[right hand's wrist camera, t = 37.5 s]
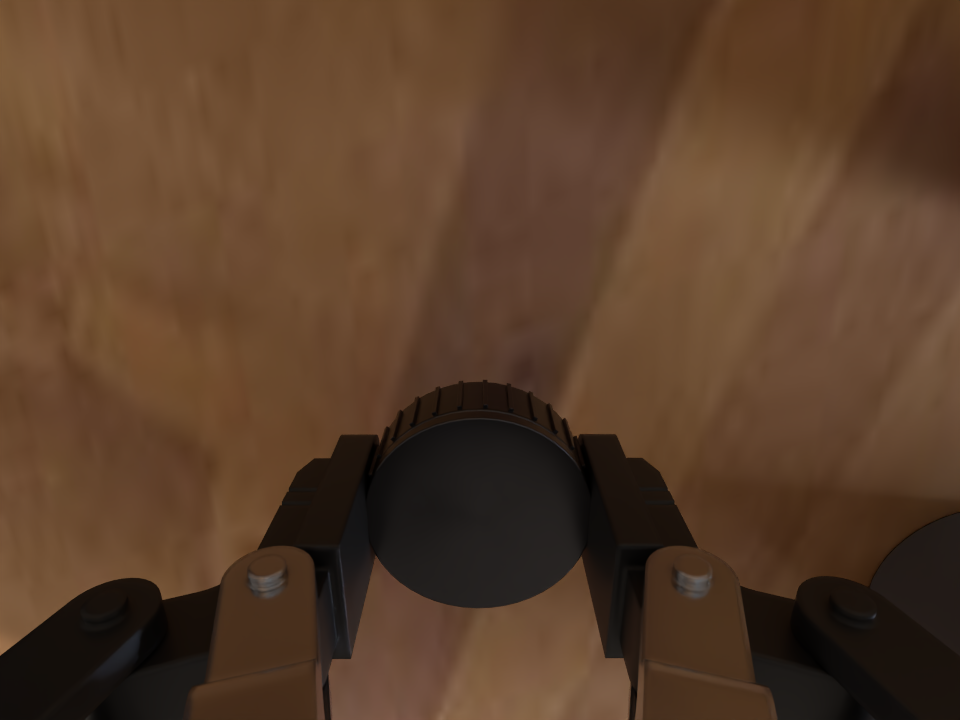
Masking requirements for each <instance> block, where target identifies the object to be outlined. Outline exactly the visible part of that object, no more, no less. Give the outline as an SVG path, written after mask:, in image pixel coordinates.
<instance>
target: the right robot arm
mask: <svg viewBox="0 0 960 720" xmlns="http://www.w3.org/2000/svg"><path fill="white" fill-rule="evenodd" d="M578 442H579V445H580V448H581V451H582V455H583V458H584V461H585V464H586V468H585V469H584V471H585V474H586V478H587V481H588V484H589V488H590V491H591V504H590V517H589V529H588V540H587V545H586V547H585V549H584V551H583V553H582V559H583V563H584V568H585V572H586V576H587V581H588V585H589V589H590V594H591V598H592V602H593V607H594V611H595V615H596V620H597V624H598V628H599V633H600V637H601V641H602V645H603V650H604V654H605V658H624V660H625V664H626V668H627V672H628V675H629V679H630V681H631V683H630V690H629V704H628V720H960V656H959V655H958V654H957V653H955V652H954V651H953V650H952V649H950V648H949V647H948V646H946V645H945V644H944V643H943V642H941V641H940V640H939V639H937V638H936V637H935V636H934V635H932V634H931V633H930V632H929V631H927V630H926V629H925V628H923V627H922V626H921V625H920V624H918V623H917V622H916V621H914V620H913V619H912V618H911V617H909V616H908V615H907V614H905V613H904V612H903V611H902V610H900V609H899V608H898V607H896V606H895V605H894V604H893V603H891V602H890V601H889V600H888V599H886V598H885V597H883V596H882V595H880V594H879V593H877V592H875V591H874V590H872V589H870V588H868V587H866V586H864V585H862V584H859V583H856V582H854V581H851V580H847V579H843V578H838V577H830V576H820V577H814V578H810V579H808V580H806V581H804V582H803V583H802V584H801V585H800V586H799V588H798V591H797V595H796V599H795V600H793V599H789V598H784V597H780V596H776V595H771V594H767V593H763V592H758V591H755V590H751V589H748V588H745V587H742V586H740V583H739V580H738V577H737V576H736V574H735V572H734V571H733V570H732V568H731V567H730V566H729V565H728V564H727V563H725V562H724V561H723V560H721V559H720V558H718V557H717V556H715V555H713V554H711V553H709V552H706V551H704V550H701V549H698V547H697V545H696V543H695V541H694V539H693V537H692V535H691V533H690V531H689V529H688V527H687V525H686V523H685V521H684V519H683V517H682V515H681V513H680V511H679V509H678V508H677V506H676V505H675V504H674V500H673V498H672V496H671V494H670V492H669V491H668V488H667V486H666V484H665V482H664V480H663V478H662V476H661V474H660V472H659V471H658V470H656V469H655V468H654V467H653V466H652V465H650V464H649V463H648V462H647V461H645V460H644V459H643V458H626V456H625V454H624V452H623V449H622V447H621V445H620V442H619V440H618V438H617V436H616V435H615V434H580V435H579V438H578ZM377 445H380V443H379V438H378V435H341V436H340V438H339V440H338V442H337V445H336V447H335V449H334V452H333V454H332V456H331V458H315V459H313V460H312V461H311V462H310V463H308V464H307V465H306V466H305V467H303V468H302V469H301V470H300V471H298V472H297V474H296V476H295V478H294V480H293V482H292V483H291V485H290V487H289V492H287V493H286V495H285V497H284V499H283V501H282V505H280V507H279V509H278V511H277V513H276V515H275V516H274V518H273V520H272V522H271V524H270V526H269V528H268V530H267V532H266V534H265V536H264V538H263V540H262V542H261V544H260V546H259V548H258V549H257V550H256V551H254V552H251V553H249V554H247V555H245V556H243V557H242V558H240V559H239V560H237V561H236V562H235V563H233V564H232V565H231V566H230V567H229V568H228V570H227V571H226V572H225V574H224V576H223V577H222V580H221V583H220V585H218V586H215V587H213V588H210V589H207V590H204V591H200V592H196V593H192V594H188V595H183V596H179V597H175V598H170V599H166V600H162V597H161V593H160V590H159V588H158V587H157V586H156V585H155V584H154V583H153V582H151V581H148V580H146V579H140V578H125V579H118V580H113V581H110V582H106V583H103V584H101V585H98V586H95V587H93V588H91V589H89V590H87V591H85V592H84V593H82V594H80V595H78V596H77V597H76V598H74V599H73V600H71V601H70V602H69V603H67V604H66V605H65V606H64V607H62V608H61V609H60V610H58V611H57V612H56V613H55V614H53V615H52V616H51V617H49V618H48V619H47V620H46V621H44V622H43V623H42V624H40V625H39V626H38V627H37V628H35V629H34V630H33V631H31V632H30V633H29V634H28V635H26V636H25V637H24V638H22V639H21V640H20V641H19V642H17V643H16V644H15V645H14V646H12V647H11V648H10V649H8V650H7V651H6V652H5V653H3V654H2V655H1V656H0V720H332V704H331V690H330V683H329V675H328V672H329V668H330V665H331V661H332V659H351V656H352V652H353V647H354V643H355V639H356V635H357V631H358V626H359V622H360V618H361V614H362V610H363V605H364V601H365V597H366V593H367V589H368V584H369V580H370V576H371V572H372V568H373V563H374V559H375V555H376V554H375V553H374V550H373V548H372V546H371V544H370V541H369V531H368V519H367V507H366V492H367V489H368V485H369V482H370V478H369V471H370V468H371V465H372V462H373V458H374V455H375V452H376V449H377Z"/></svg>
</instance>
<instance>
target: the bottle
mask: <svg viewBox="0 0 960 720" xmlns="http://www.w3.org/2000/svg"><path fill="white" fill-rule="evenodd" d="M870 589H872V590H874V591H875V592H877V593H879V594H880V595H882V596H883V597H885V598H886V599H888V600H889V601H890V602H891V603H893V604H894V605H895V606H896V607H898V608H899V609H900V610H902V611H903V612H904V613H905V614H907V615H908V616H909V617H911V618H912V619H913V620H914V621H916V622H917V623H918V624H920V625H921V626H922V627H923V628H925V629H926V630H927V631H929V632H930V633H931V634H932V635H934V636H935V637H936V638H937V639H939V640H940V641H941V642H943V643H944V644H945V645H946V646H948V647H949V648H950V649H952V650H953V651H954V652H955V653H957V654H958V655H959V656H960V513H956V514H953V515H950V516H947V517H945V518H942V519H939V520H937V521H935V522H933V523H931V524H929V525H927V526H925V527H923V528H922V529H920V530H918V531H917V532H915V533H914V534H912V535H911V536H909V537H908V538H907V539H905V540H904V541H903V542H902V543H901V544H899V545H898V546H897V547H896V548H895V549H894V550H893V551H892V552H891V553H890V554H889V555H888V556H887V558H886V559H885V560H884V561H883V563H882V564H881V566H880V567H879V568H878V570H877V572H876V574H875V576H874V577H873V580H872V582H871V585H870Z"/></svg>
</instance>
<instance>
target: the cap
mask: <svg viewBox="0 0 960 720" xmlns="http://www.w3.org/2000/svg"><path fill="white" fill-rule="evenodd" d="M585 468H586V464H585V461H584V458H583V455H582V451H581V448H580V445H579V442H578V438H577V436H574V437H573V435H572V433H571V431H570V429H569V426H568V422H567V420H566V419H565V418H564V419H563V420H562V418H561V417H560V416H559V415H558V414H557V413H556V412H555V411H554V410H553V407H552V405H551V404H550V403H548V404H546V403H544V402H543V401H541V400H540V399H538V398H537V397H535V396H534V395H533V392H531V391H529V392H528V393H527V392H525V391H523V390H520V389H517V388H514V387H511V384H508V383H507V385H502V384H497V383H488V382H487V380H483V382H468V383H463V381H459V384H455V385H451V386H447V387H444V388H440V386H439V387H436V389H435V391H433V392H431V393H428V394H426V395H425V396H423V397H421V398H419V396H418V397H416V398H415V401H414V402H413V403H412V404H411V405H409V406H408V407H407V408H406V409H405V410H404V411H401V410H400V411H399V412H398V414H397V417H396V419H395V420H394V422H393V423H392V424H391V426H390V427H386V428H385V430H384V434H383V437H382V440H381V443H380V445H377V449H376V452H375V455H374V458H373V462H372V465H371V468H370V471H369V478H370V482H369V485H368V489H367V492H366V507H367V519H368V531H369V541H370V544H371V546H372V548H373V550H374V553H375V554H376V556H377V557H378V559H379V560H380V562H381V563H382V565H383V566H384V567H385V568H386V569H387V570H388V572H389V573H390V574H391V575H392V576H394V577H395V578H396V579H397V580H398V581H399V582H400V583H402V584H403V585H405V586H406V587H408V588H409V589H411V590H412V591H414V592H416V593H418V594H420V595H422V596H424V597H426V598H429V599H431V600H434V601H437V602H440V603H444V604H447V605H452V606H458V607H466V608H492V607H499V606H506V605H510V604H514V603H518V602H521V601H523V600H526V599H529V598H531V597H534V596H536V595H538V594H540V593H542V592H544V591H545V590H547V589H548V588H550V587H551V586H553V585H554V584H556V583H557V582H558V581H559V580H561V579H562V578H563V577H564V576H565V575H566V574H567V573H568V572H569V571H570V570H571V569H572V568H573V566H574V565H575V564H576V562H577V561H578V560H579V558H580V557H581V555H582V553H583V551H584V549H585V547H586V545H587V540H588V529H589V517H590V504H591V491H590V488H589V484H588V481H587V478H586V474H585V471H584V469H585Z"/></svg>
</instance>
